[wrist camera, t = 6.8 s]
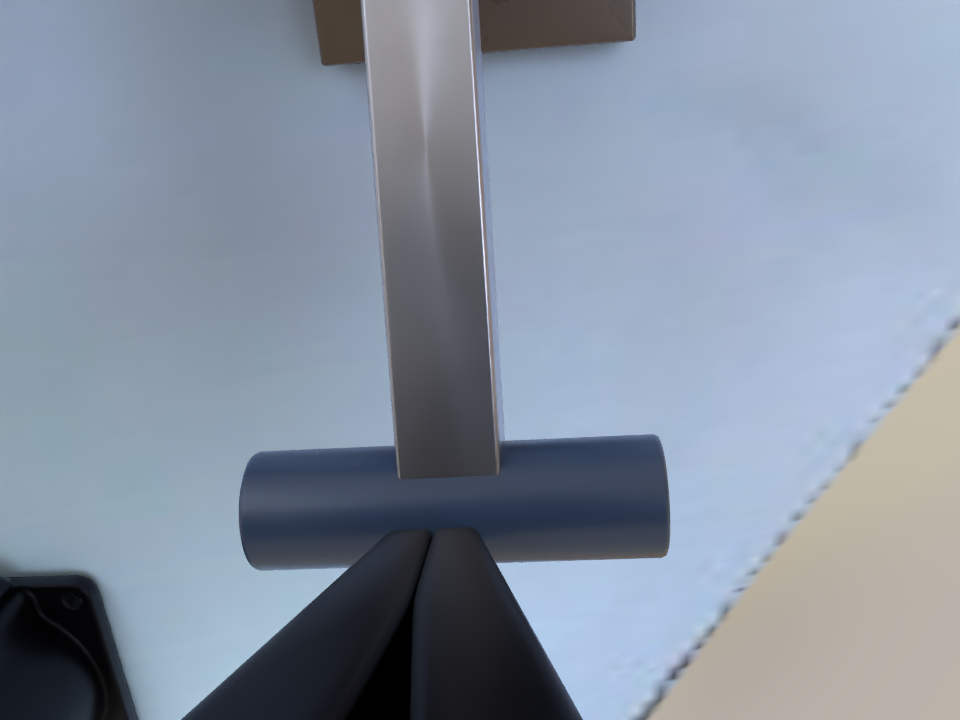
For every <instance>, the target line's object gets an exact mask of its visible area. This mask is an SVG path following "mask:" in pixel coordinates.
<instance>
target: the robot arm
mask: <svg viewBox="0 0 960 720" xmlns="http://www.w3.org/2000/svg"><path fill="white" fill-rule="evenodd" d="M73 593H76V594H78V595H79V596H80V597H81V598H78V597H76V596H75V595H73ZM0 720H137V716H136V713H135V710H134V706H133V703H132V700H131V696H130V693H129V690H128V687H127V683H126V680H125V677H124V673H123V670H122V667H121V663H120V660H119V657H118V653H117V650H116V647H115V643H114V640H113V637H112V634H111V630H110V627H109V624H108V620H107V617H106V614H105V610H104V607H103V604H102V600H101V597H100V594H99V590H98V589H97V587H96V585H95V584H94V583H93V582H92V581H91V580H90V579H88V578H86V577H83V576H77V575H70V576H39V577H8V578H4V577H0ZM181 720H583V719H582V717H581V716H580V714H579V712H578V710H577V708H576V707H575V705H574V703H573V701H572V699H571V698H570V696H569V694H568V692H567V690H566V689H565V687H564V685H563V683H562V681H561V680H560V678H559V676H558V674H557V672H556V671H555V669H554V667H553V665H552V663H551V662H550V660H549V658H548V656H547V654H546V653H545V651H544V649H543V647H542V645H541V644H540V642H539V640H538V638H537V636H536V635H535V633H534V631H533V629H532V627H531V626H530V624H529V622H528V620H527V619H526V617H525V615H524V613H523V611H522V610H521V608H520V606H519V604H518V602H517V601H516V599H515V597H514V595H513V593H512V592H511V590H510V588H509V586H508V584H507V583H506V581H505V579H504V577H503V575H502V574H501V572H500V570H499V568H498V566H497V565H496V563H495V561H494V559H493V557H492V556H491V554H490V552H489V550H488V548H487V547H486V545H485V543H484V541H483V539H482V538H481V536H480V534H479V532H478V531H477V530H476V529H475V528H473V527H454V528H439V529H437V530H436V531H435V532H434V534H433V533H432V531H431V530H429V529H402V530H393V531H391V532H389V533H388V534H387V535H385V536H384V537H383V538H382V539H381V540H380V541H379V542H378V543H377V544H375V545H374V546H373V547H372V548H371V549H370V550H369V551H368V552H367V553H365V554H364V555H363V556H362V557H361V558H360V559H359V560H358V561H357V562H355V563H354V564H353V565H352V566H351V567H350V568H349V569H348V570H347V571H345V572H344V573H343V574H342V575H341V576H340V577H339V578H338V579H337V580H336V581H334V582H333V583H332V584H331V585H330V586H329V587H328V588H327V589H326V590H324V591H323V592H322V593H321V594H320V595H319V596H318V597H317V598H316V599H314V600H313V601H312V602H311V603H310V604H309V605H308V606H307V607H306V608H304V609H303V610H302V611H301V612H300V613H299V614H298V615H297V616H296V617H294V618H293V619H292V620H291V621H290V622H289V623H288V624H287V625H286V626H284V627H283V628H282V629H281V630H280V631H279V632H278V633H277V634H276V635H275V636H273V637H272V638H271V639H270V640H269V641H268V642H267V643H266V644H265V645H263V646H262V647H261V648H260V649H259V650H258V651H257V652H256V653H255V654H253V655H252V656H251V657H250V658H249V659H248V660H247V661H246V662H245V663H243V664H242V665H241V666H240V667H239V668H238V669H237V670H236V671H235V672H233V673H232V674H231V675H230V676H229V677H228V678H227V679H226V680H225V681H223V682H222V683H221V684H220V685H219V686H218V687H217V688H216V689H215V690H214V691H212V692H211V693H210V694H209V695H208V696H207V697H206V698H205V699H204V700H202V701H201V702H200V703H199V704H198V705H197V706H196V707H195V708H194V709H192V710H191V711H190V712H189V713H188V714H187V715H186V716H185V717H184V718H182V719H181Z"/></svg>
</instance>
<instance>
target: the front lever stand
mask: <svg viewBox="0 0 960 720" xmlns="http://www.w3.org/2000/svg"><path fill="white" fill-rule="evenodd" d="M478 4H479V21H480V38H481V53H490V52H503V51H515V50H527V49H539V48H551V47H564V46H576V45H588V44H600V43H613V42H625V41H633V40H635V37H636V11H635V0H478ZM313 7H314V14H315V21H316V28H317V35H318V42H319V49H320V56H321V63H322V64H323V65H324V66H332V65H344V64H356V63H365V51H364V38H363V25H362V12H361V0H313Z"/></svg>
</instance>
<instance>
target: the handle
mask: <svg viewBox="0 0 960 720" xmlns="http://www.w3.org/2000/svg"><path fill="white" fill-rule="evenodd" d="M361 12H362V25H363V38H364V51H365V64H366V77H367V90H368V103H369V116H370V129H371V142H372V155H373V168H374V181H375V194H376V207H377V220H378V233H379V246H380V259H381V272H382V285H383V298H384V311H385V324H386V337H387V350H388V363H389V376H390V389H391V402H392V415H393V429H394V442H395V446H378V447H355V448H333V449H310V450H287V451H264V452H259V453H257V454H255V455H254V456H252V458H251V459H250V460H249V462H248V464H247V466H246V469H245V472H244V475H243V479H242V484H241V489H240V497H239V528H240V536H241V541H242V546H243V550H244V553H245V556H246V558H247V560H248V562H249V563H250V565H251V566H252V567H254V568H255V569H258V570H261V571H262V570H293V569H324V568H350V567H351V566H352V565H353V564H354V563H355V562H357V561H358V560H359V559H360V558H361V557H362V556H363V555H364V554H365V553H367V552H368V551H369V550H370V549H371V548H372V547H373V546H374V545H375V544H377V543H378V542H379V541H380V540H381V539H382V538H383V537H384V536H385V535H387V534H388V533H389V532H391V531H393V530H402V529H429V530H431V531H432V533H433V534H434V532H435V531H436V530H437V529H439V528H454V527H473V528H475V529H476V530H477V531H478V532H479V534H480V536H481V538H482V539H483V541H484V543H485V545H486V547H487V548H488V550H489V552H490V554H491V556H492V557H493V559H494V561H495V563H511V562H542V561H573V560H604V559H635V558H662V557H664V556H666V555H667V552H668V549H669V542H670V503H669V489H668V478H667V470H666V463H665V457H664V452H663V447H662V444H661V442H660V439H659V437H658V436H656V435H653V434H651V435H628V436H605V437H583V438H560V439H537V440H514V441H505V438H504V421H503V404H502V388H501V371H500V354H499V338H498V321H497V304H496V288H495V271H494V254H493V238H492V221H491V204H490V188H489V171H488V154H487V138H486V121H485V104H484V88H483V71H482V54H481V38H480V21H479V4H478V0H361Z"/></svg>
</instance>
